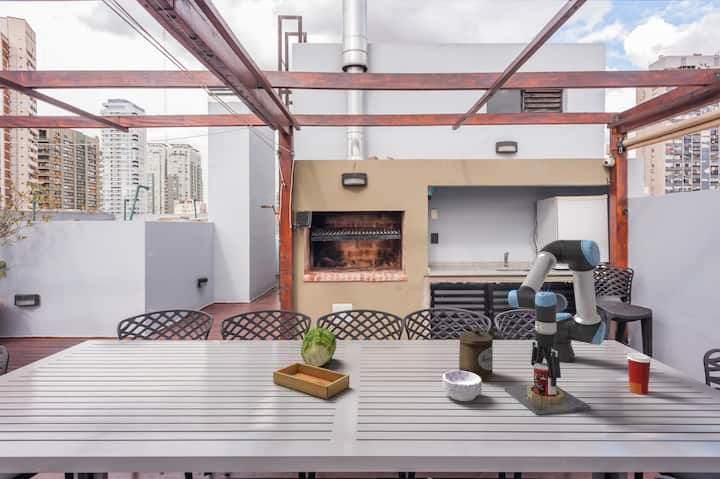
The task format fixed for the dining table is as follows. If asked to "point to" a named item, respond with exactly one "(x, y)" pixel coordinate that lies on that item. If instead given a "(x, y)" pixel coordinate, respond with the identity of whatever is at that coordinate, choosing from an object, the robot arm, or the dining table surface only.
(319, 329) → the lettuce
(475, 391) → the paper bowls
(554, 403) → the collar plate
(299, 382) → the tray
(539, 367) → the canned food
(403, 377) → the dining table surface
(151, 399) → the dining table surface
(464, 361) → the wooden container
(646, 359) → the coffee cup
